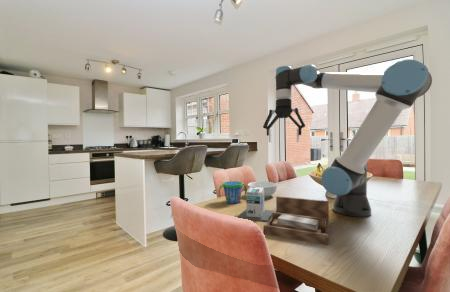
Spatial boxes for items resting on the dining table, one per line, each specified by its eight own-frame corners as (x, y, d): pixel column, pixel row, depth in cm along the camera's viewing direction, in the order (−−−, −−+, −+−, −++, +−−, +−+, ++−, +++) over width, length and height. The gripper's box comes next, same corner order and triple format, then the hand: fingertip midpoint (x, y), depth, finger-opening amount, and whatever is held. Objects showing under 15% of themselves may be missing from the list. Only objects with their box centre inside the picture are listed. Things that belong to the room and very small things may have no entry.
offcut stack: (321, 235, 81) (321, 219, 80) (318, 242, 75) (319, 225, 75) (276, 226, 88) (276, 213, 88) (271, 232, 83) (271, 218, 83)
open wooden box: (328, 220, 94) (328, 201, 93) (328, 244, 72) (328, 219, 72) (276, 213, 102) (276, 196, 102) (263, 234, 81) (263, 211, 81)
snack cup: (220, 205, 116) (219, 185, 115) (217, 200, 126) (216, 181, 126) (249, 203, 118) (249, 184, 118) (244, 198, 129) (244, 180, 128)
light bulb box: (261, 218, 95) (261, 192, 95) (246, 216, 97) (245, 191, 97) (264, 210, 105) (264, 187, 105) (250, 209, 107) (250, 186, 107)
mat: (274, 212, 105) (274, 210, 105) (267, 221, 93) (267, 220, 93) (247, 208, 110) (247, 207, 110) (237, 217, 98) (237, 216, 98)
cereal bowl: (256, 191, 146) (256, 180, 146) (281, 194, 136) (281, 183, 136) (242, 197, 132) (242, 184, 132) (269, 201, 122) (268, 188, 122)
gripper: (310, 98, 111) (310, 141, 112) (260, 102, 122) (261, 142, 122) (309, 95, 105) (309, 142, 105) (256, 100, 115) (257, 142, 116)
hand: (283, 142), depth 114 cm, fingers open, 13 cm apart
